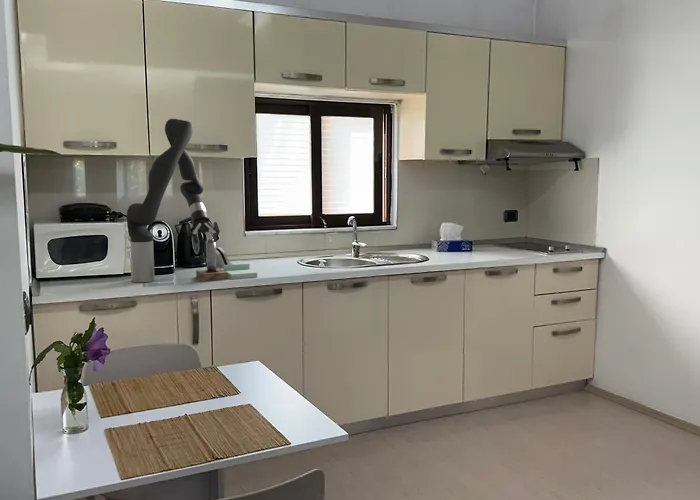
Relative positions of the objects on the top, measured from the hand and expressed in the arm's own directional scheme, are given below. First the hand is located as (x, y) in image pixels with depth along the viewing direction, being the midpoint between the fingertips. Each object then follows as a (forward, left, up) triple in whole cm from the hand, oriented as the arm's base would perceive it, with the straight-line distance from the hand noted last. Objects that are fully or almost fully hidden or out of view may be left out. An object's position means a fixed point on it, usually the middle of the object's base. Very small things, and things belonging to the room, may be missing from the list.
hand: (206, 241), depth 284 cm
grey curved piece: (+14, +25, -16) cm, 33 cm away
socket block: (0, -8, -15) cm, 17 cm away
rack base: (+13, -8, -15) cm, 22 cm away
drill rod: (0, -8, -15) cm, 17 cm away
